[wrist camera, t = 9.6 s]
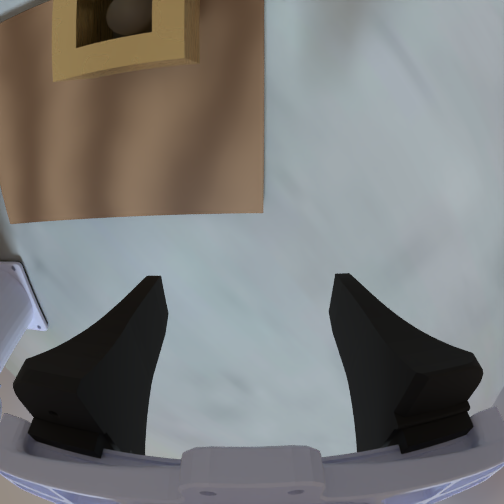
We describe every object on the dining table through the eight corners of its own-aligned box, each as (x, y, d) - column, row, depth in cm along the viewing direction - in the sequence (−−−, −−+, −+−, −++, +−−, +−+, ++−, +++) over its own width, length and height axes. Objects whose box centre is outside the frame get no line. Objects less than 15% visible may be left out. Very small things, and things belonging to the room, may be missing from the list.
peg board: (16, 218, 21) (-26, 256, 16) (-7, 31, 13) (-60, 33, 8) (262, 206, 21) (267, 252, 16) (262, -32, 13) (269, -71, 8)
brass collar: (93, 78, 13) (52, 82, 10) (93, -16, 10) (56, -33, 7) (199, 63, 13) (184, 58, 10) (200, -36, 10) (186, -67, 7)
